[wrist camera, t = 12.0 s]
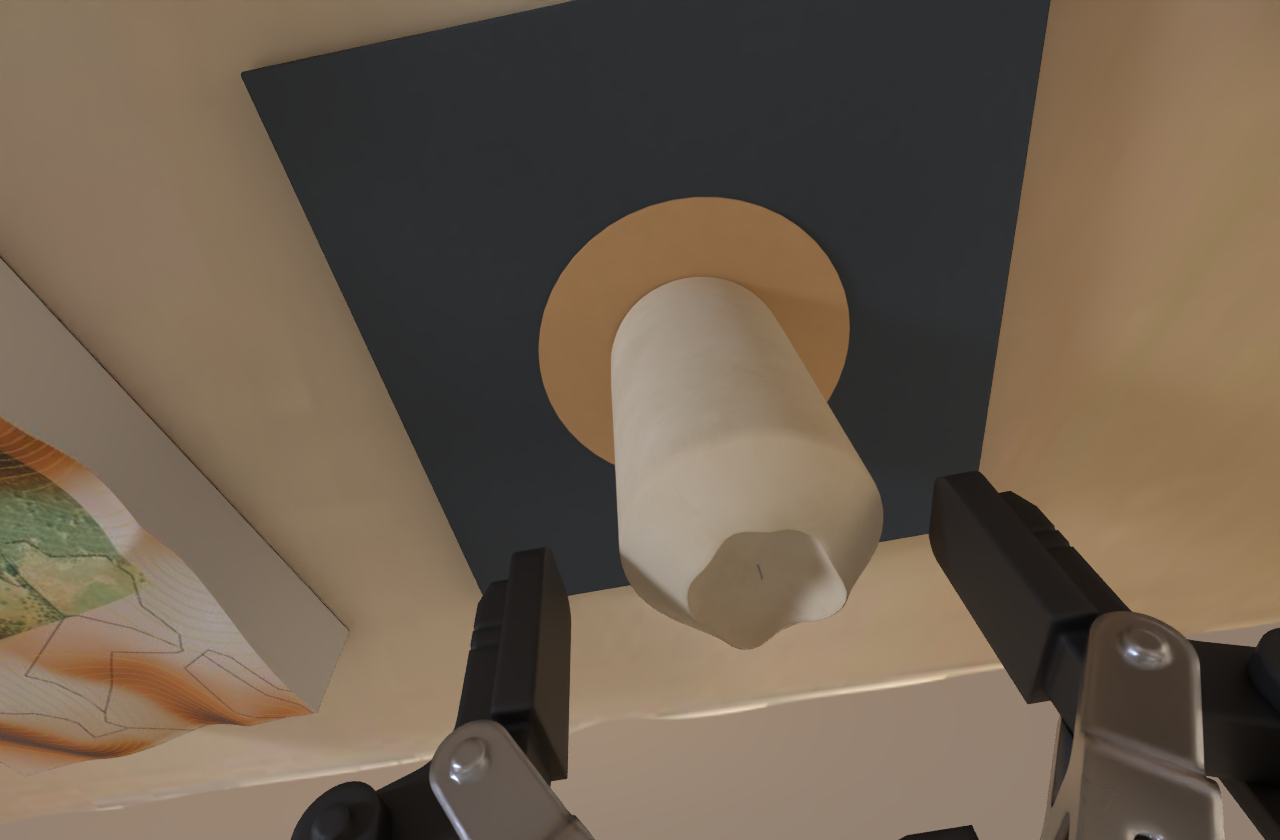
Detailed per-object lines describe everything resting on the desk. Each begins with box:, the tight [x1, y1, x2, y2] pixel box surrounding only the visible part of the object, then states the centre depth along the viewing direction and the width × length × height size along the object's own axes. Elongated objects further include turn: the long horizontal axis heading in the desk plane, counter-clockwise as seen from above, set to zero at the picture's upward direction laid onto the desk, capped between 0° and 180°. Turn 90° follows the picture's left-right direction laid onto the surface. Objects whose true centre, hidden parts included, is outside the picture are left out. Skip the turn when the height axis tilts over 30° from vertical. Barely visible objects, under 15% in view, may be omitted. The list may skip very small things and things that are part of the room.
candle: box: [611, 277, 883, 649], centre depth 16 cm, size 6×6×10 cm
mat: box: [241, 0, 1050, 596], centre depth 21 cm, size 20×20×1 cm
